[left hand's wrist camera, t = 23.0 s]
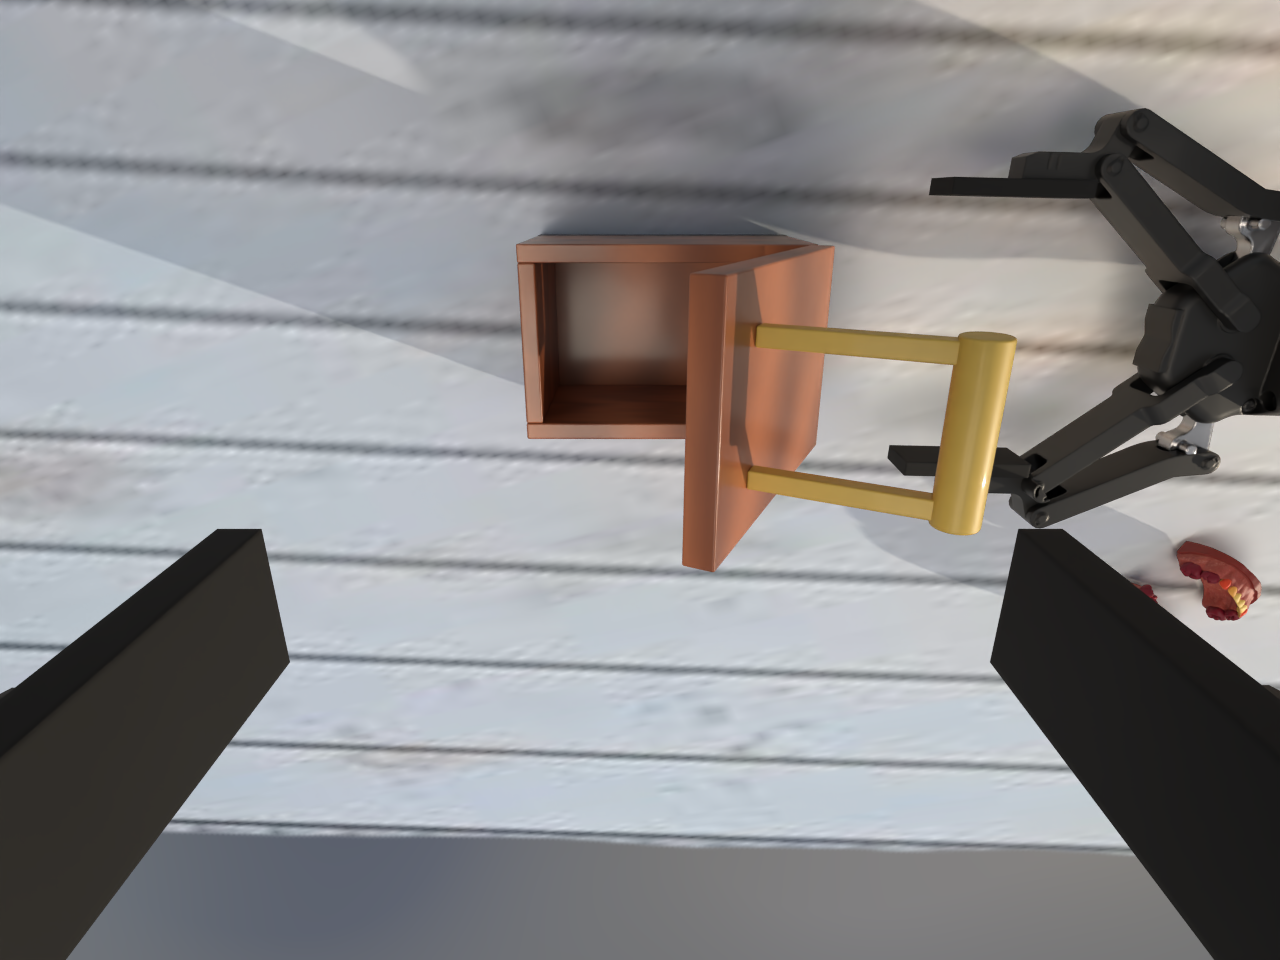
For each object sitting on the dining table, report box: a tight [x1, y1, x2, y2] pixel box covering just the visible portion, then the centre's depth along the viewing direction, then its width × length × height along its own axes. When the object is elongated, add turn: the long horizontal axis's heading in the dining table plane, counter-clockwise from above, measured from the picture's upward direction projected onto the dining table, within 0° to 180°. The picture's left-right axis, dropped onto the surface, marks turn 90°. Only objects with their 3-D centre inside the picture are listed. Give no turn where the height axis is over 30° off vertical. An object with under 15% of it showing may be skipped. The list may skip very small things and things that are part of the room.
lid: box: [682, 245, 1017, 572], centre depth 26 cm, size 14×9×9 cm
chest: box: [516, 235, 818, 439], centre depth 38 cm, size 14×9×9 cm
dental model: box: [1132, 541, 1261, 621], centre depth 47 cm, size 6×4×8 cm
